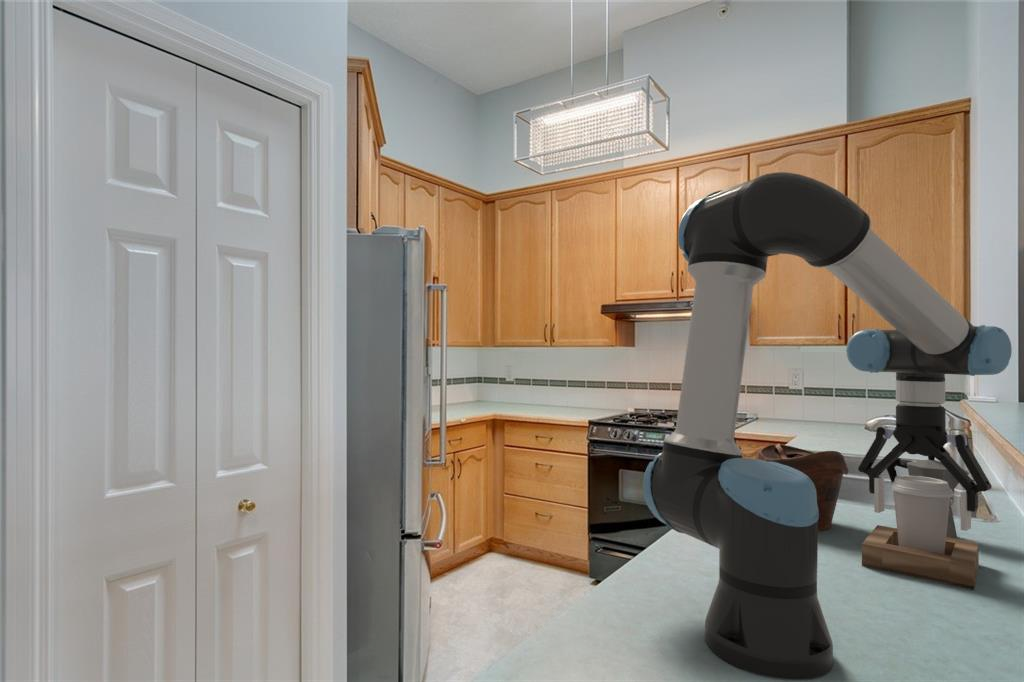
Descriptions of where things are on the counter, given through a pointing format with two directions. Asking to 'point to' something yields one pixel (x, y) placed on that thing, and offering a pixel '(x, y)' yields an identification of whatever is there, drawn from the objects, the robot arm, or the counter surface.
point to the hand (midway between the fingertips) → (920, 520)
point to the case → (813, 474)
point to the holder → (922, 559)
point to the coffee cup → (921, 512)
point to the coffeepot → (930, 470)
